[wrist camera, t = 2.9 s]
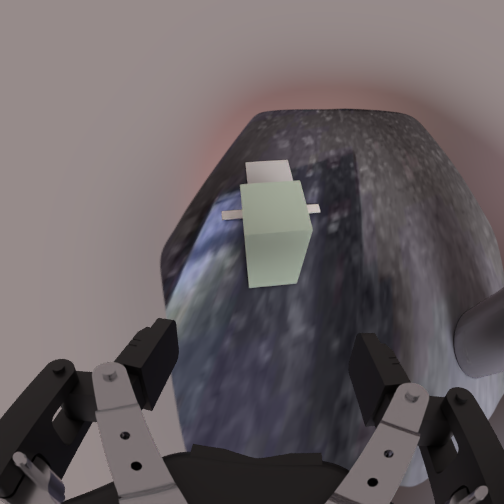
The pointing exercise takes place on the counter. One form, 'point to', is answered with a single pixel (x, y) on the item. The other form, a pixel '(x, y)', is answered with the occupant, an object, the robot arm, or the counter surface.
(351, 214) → the counter surface
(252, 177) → the mat
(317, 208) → the pale grey thin rod
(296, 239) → the sage block
